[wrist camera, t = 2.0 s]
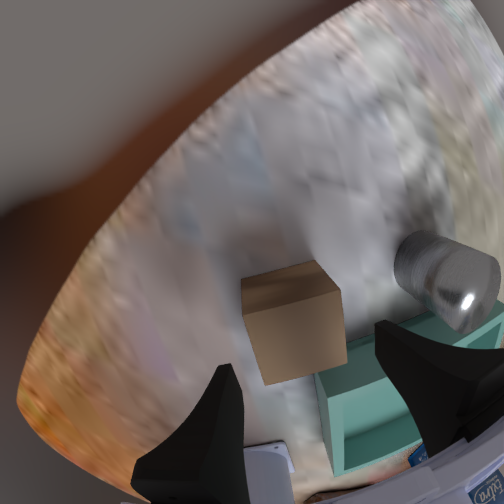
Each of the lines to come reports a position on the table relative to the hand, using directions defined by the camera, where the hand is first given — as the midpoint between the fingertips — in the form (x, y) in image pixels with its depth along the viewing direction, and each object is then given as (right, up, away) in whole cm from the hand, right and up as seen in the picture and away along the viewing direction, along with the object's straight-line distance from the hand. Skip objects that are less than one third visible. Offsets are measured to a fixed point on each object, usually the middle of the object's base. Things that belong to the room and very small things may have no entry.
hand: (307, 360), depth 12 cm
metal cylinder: (+10, +4, +6) cm, 13 cm away
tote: (+12, -7, +9) cm, 17 cm away
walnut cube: (0, +2, +6) cm, 7 cm away
